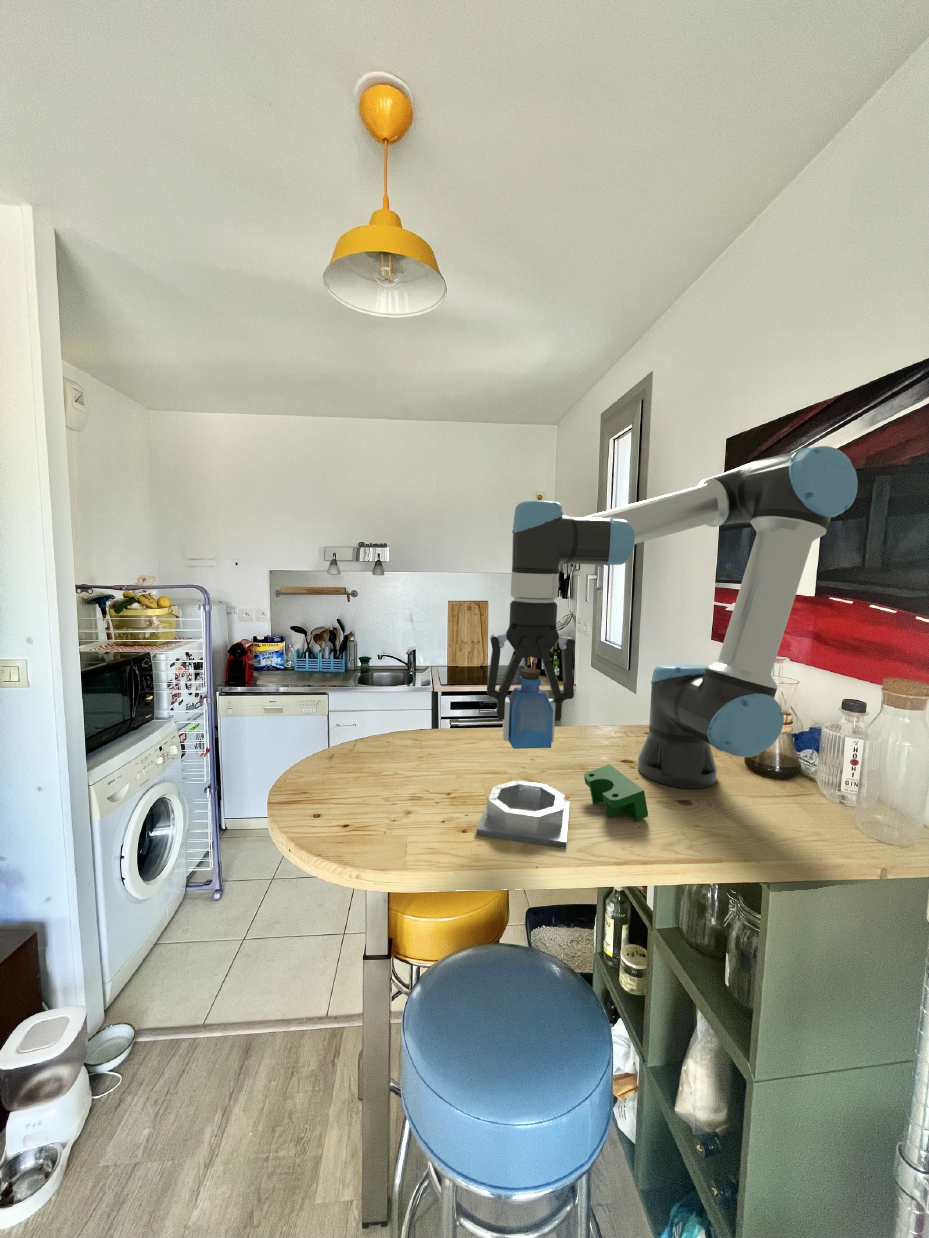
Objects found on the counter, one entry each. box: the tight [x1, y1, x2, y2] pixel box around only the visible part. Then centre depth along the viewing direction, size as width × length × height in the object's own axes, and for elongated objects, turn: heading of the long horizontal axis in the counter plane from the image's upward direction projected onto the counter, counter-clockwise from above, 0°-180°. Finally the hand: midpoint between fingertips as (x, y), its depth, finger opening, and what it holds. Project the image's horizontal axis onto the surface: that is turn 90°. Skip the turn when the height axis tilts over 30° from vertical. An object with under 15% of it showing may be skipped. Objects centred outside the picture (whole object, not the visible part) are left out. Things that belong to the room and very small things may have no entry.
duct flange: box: [475, 779, 571, 849], centre depth 87 cm, size 14×14×4 cm
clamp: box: [583, 764, 649, 822], centre depth 91 cm, size 12×6×9 cm, turn 8°
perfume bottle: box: [507, 667, 553, 750], centre depth 84 cm, size 6×6×12 cm
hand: (527, 738), depth 85 cm, fingers closed on perfume bottle, 7 cm apart
